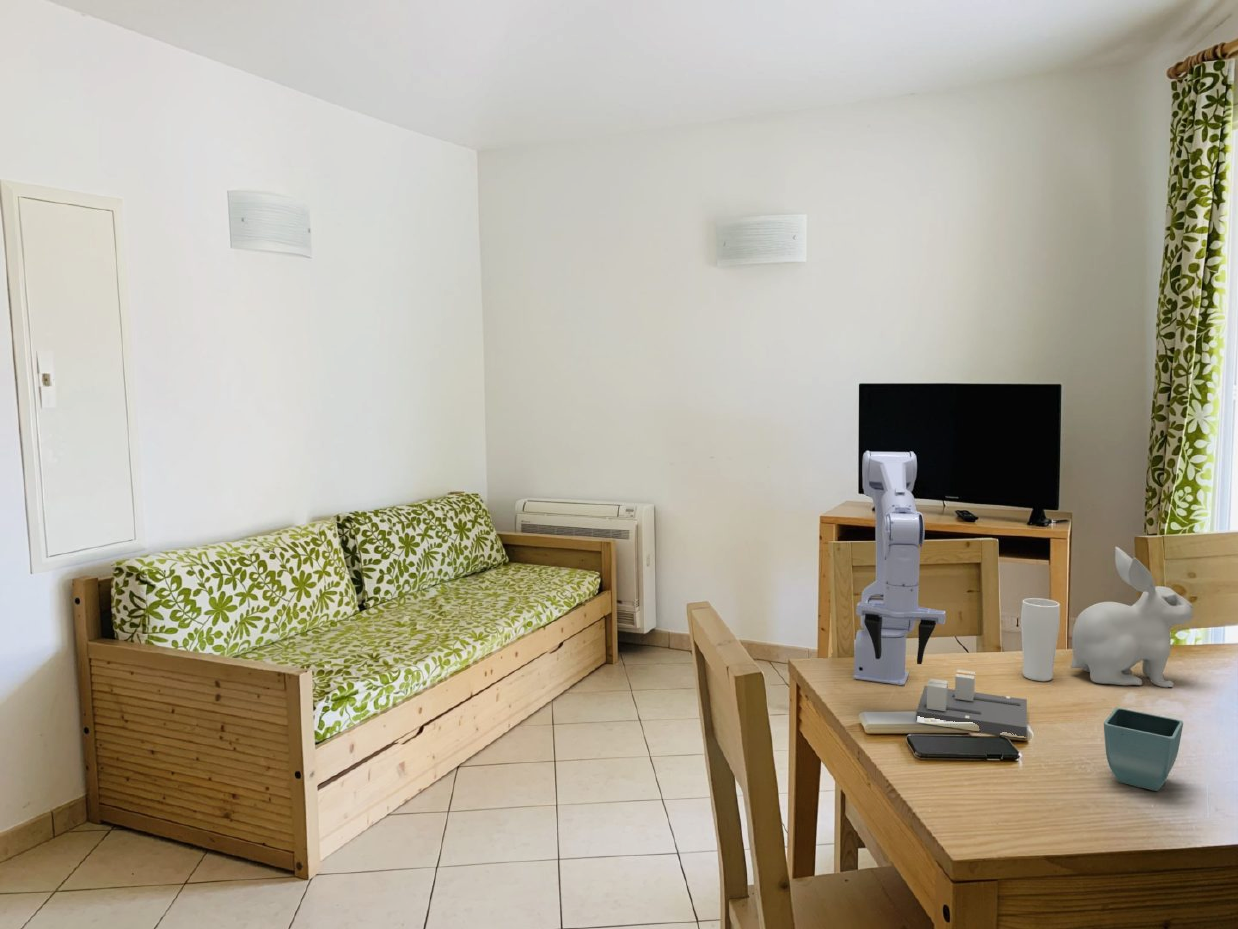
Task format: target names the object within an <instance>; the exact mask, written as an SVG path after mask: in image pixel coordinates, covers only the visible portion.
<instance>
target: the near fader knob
mask: <svg viewBox="0 0 1238 929" xmlns="http://www.w3.org/2000/svg"><path fill="white" fill-rule="evenodd" d="M926 686H927V709H933V710H940V711H946V707H947V698H948V689H949V680H945V679H937V678H929V680H928V683H927V685H926Z"/></svg>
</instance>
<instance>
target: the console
mask: <svg viewBox="0 0 1238 929" xmlns="http://www.w3.org/2000/svg"><path fill="white" fill-rule="evenodd" d="M1027 700H1028V699H1026V698H1020V697H1011V696H1007V695H1006V696H1005V695H997V694H991V693H982V692H976V691H974V699H973V701H967V700H960V699H955V689H953V688H952V689H951V688H948V698H947V707H946V711H940V710H933V709H927V685H924V687H923V691H922V693H921V696H920V700H919V702H918V706H917V707H916V712H915V713H916V714H915V717H916V716H920V717H924V718H935V719H940V720H946V721H953V722H954V721H955V722H973V723H975V724H977V725H978V726H979V729H980V730H979V731H978V732H977V733H980V734H987V735H995V736H1000V733H1002V732H1007V733H1011V734H1012V733H1013V734H1014V735H1015V734H1016V735H1017V736H1024V737H1026V738H1027V737H1028V736H1027V734H1028V733H1027V732H1028V731H1027V730H1028V729H1027V728H1028V715H1027V714H1028V708H1027V707H1028V701H1027ZM1013 734H1012V735H1013Z"/></svg>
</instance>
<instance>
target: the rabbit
mask: <svg viewBox="0 0 1238 929" xmlns="http://www.w3.org/2000/svg"><path fill="white" fill-rule="evenodd" d="M1114 549H1115V550H1114V552H1115V554H1114V555H1115V556H1114V561H1115V568H1116V570H1117V573H1118V575H1119V577H1120V578H1121V580H1123V582H1125V583H1126V584H1127V585H1129V586H1131V587H1133V588H1134V589H1135V590H1136V591H1137V592H1142V594H1141V596H1140V597H1139V599H1138V600H1137V601H1136V602H1135V603H1134V604H1132V605H1128V604H1125V603H1121V602H1115V601H1103V602H1097V603H1095V604H1093V605H1090V606H1088V607H1087V608H1085V609H1084V610H1081V612H1080V613H1079V614H1078V616H1077V617H1076V619H1075V622H1074V625H1073V629H1072V634H1071V635H1072V636H1071V642H1072V644H1071V645H1072V655H1073V656H1072V659H1071V663H1070V669H1082V671H1085V672H1088V673H1089V678H1090V680H1091V681H1092V682H1093V683H1096V684H1104V685H1105V684H1106V685H1108V684H1109V685H1118V686H1119V685H1120V686H1132V685H1133V686H1134V685H1135V686H1141V685H1143V680H1142V679H1141V678H1139V677H1138V676H1135V675H1132V673H1133V672H1132V670H1131V668H1133V667H1135V665H1137V664H1138V663H1141V662H1142V667H1141V668H1142V670H1141V672H1142V673H1143V674H1144V676H1145V677H1147V678H1150V681H1151V683H1153V684H1154V685H1156V686H1157V687H1161V688H1168V687H1172V688H1173V687H1174V686H1175V684H1174V682H1173V681H1171V680H1165V679H1164V678H1165V676H1164V670H1165V669H1166V666H1167V662H1168V659H1169V657H1170V654H1171V644H1172V643H1171V637H1172V636H1171V632H1170V630H1171V628H1172V626H1174V625H1175V626H1176V625H1183V624H1184V623H1186V622H1189V621H1191V620H1192V619H1193V618H1194V611H1193V607H1194V605H1193V604H1192V603H1191V602H1190V601H1188V599H1186V598H1185V597H1183V596H1182V595H1180V594H1178V593H1177V592H1176V591H1175V590H1173V589H1172V588H1170V587H1167V586H1161V585H1160V586H1159V585H1157V586H1156V585H1155V581H1154V580H1155V579H1154V577H1153V575H1152V573H1151V572H1150V570H1149V569H1148V568H1146V566H1145V565H1143V563H1142V562H1141V561H1140V560H1139V559H1138V558H1136V557H1133V558H1131V556H1129V555H1128V554H1127V553H1126V551H1124V550H1122V549H1121V548H1120V547H1118V546H1115V547H1114Z"/></svg>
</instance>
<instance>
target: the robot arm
mask: <svg viewBox="0 0 1238 929" xmlns="http://www.w3.org/2000/svg"><path fill="white" fill-rule="evenodd" d="M861 467H862V470H861V471H862V489H863V494H864V495H865V496H867V497H868V498H871V499H872V502H873V505H874V512H875V514H874V515H875V521H874V522H875V529H874V530H875V581H873V582H871V583H870V584H869V585H867V586H866V587H865V588H864V589H863V590H862V592H861V600H860V601H859V602H857V604H856V610H855V611H856V617H857V616H859V617H860V627H861V628H862V629H858V630H857V632H856V635H855V642H854V663H853V664H854V668H853V672H854V675H853V679H855V680H861V681H868V682H869V681H870V682H876V683H884V684H889V685H890V684H891V685H896V686H897V685H898V686H905V685H906V682H907V680H908V677H909V675H910V671H909V670H906V650H907V637H908V636H909V633H911V632H913V630H914V629H915V627H916V622H919V624H918V627H917V629H918V630H917V631H918V649H917V655H916V664H917V665H922V663H923V661H924V660H923V659H924V655H925V654H924V653H925V650H926V646H927V643H928V641H929V639H930V637H931V635H932V634H933V633H934V630H935V627H936V624H938V625H945V623H946V610H939V609H934V608H927V607H922V606H919V591H920V590H919V588H920V563H921V562H920V561H921V560H920V558H921V557H920V555H921V548H922V547H923V546H924V540H925V534H926V533H925V532H926V531H925V530H926V529H925V521H924V516H923V513H922V512H921V511H917V505H916V501H915V497H914V495H913V493H912V492H913V490H914V486H915V481H916V479H917V472H918V471H917V470H918V462H917V455H916V454H915V453H914V451H909V452H908V451H870V450H866V451H865V452H864V453H863V455H862V466H861Z"/></svg>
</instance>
